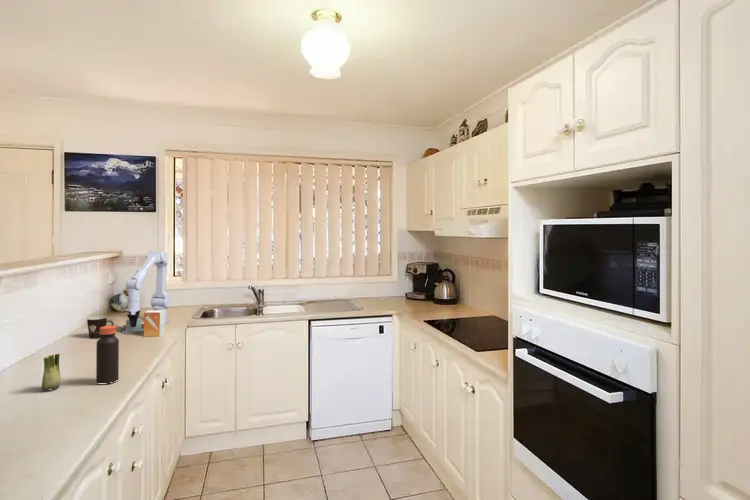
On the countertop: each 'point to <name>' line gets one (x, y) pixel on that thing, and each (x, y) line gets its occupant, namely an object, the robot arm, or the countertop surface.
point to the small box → (153, 323)
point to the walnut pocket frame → (125, 327)
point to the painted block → (129, 328)
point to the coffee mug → (96, 326)
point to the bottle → (107, 356)
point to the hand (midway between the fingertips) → (133, 325)
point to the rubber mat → (132, 331)
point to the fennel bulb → (51, 373)
